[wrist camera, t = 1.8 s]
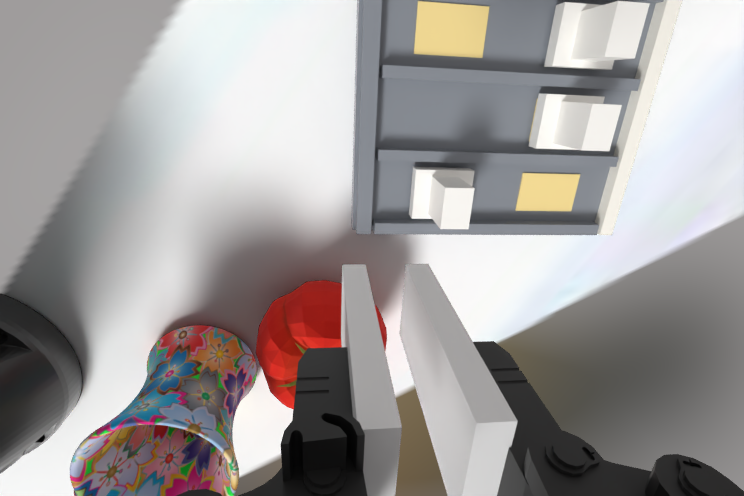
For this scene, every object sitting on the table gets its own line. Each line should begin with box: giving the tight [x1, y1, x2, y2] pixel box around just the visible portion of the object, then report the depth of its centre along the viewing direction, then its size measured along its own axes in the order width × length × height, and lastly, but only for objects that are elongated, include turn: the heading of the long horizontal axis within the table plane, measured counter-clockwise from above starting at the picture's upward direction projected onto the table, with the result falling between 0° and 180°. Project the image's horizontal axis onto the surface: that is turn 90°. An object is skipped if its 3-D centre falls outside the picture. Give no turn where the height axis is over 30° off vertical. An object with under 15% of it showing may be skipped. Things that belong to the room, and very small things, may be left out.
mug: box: [70, 325, 257, 496], centre depth 28 cm, size 12×9×11 cm
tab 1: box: [409, 167, 475, 229], centre depth 26 cm, size 4×3×4 cm
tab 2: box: [544, 1, 650, 70], centre depth 23 cm, size 4×3×4 cm
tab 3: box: [529, 93, 622, 151], centre depth 25 cm, size 4×3×4 cm
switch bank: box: [351, 0, 682, 235], centre depth 26 cm, size 20×16×2 cm
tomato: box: [256, 280, 387, 409], centre depth 29 cm, size 9×9×8 cm
